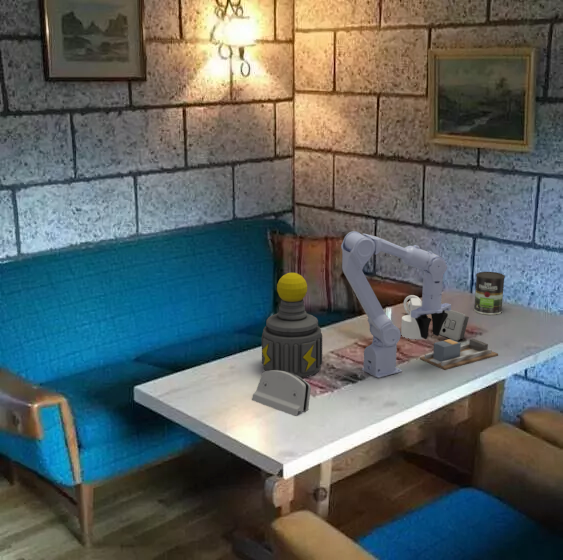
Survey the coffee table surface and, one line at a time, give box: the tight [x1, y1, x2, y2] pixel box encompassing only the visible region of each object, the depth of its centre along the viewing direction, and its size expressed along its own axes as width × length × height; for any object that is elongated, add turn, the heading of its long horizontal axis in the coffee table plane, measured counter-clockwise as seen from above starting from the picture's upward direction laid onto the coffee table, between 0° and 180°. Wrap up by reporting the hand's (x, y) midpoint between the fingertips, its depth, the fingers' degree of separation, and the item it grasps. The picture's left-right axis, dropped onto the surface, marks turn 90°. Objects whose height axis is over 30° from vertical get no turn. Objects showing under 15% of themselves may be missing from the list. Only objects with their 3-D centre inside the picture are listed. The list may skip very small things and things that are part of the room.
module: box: [432, 338, 462, 362], centre depth 244 cm, size 7×4×5 cm, turn 122°
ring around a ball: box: [402, 294, 422, 315], centre depth 289 cm, size 8×6×8 cm
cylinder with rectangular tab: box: [400, 297, 423, 340], centre depth 267 cm, size 9×9×12 cm
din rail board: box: [419, 338, 499, 371], centre depth 247 cm, size 23×11×4 cm, turn 122°
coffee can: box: [473, 271, 506, 316], centre depth 294 cm, size 10×10×14 cm
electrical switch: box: [439, 309, 470, 342], centre depth 266 cm, size 9×5×9 cm, turn 35°
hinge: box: [251, 370, 312, 417], centre depth 213 cm, size 17×5×10 cm, turn 49°
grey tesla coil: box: [261, 272, 323, 379], centre depth 236 cm, size 19×19×30 cm
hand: (430, 336), depth 239 cm, fingers open, 4 cm apart
